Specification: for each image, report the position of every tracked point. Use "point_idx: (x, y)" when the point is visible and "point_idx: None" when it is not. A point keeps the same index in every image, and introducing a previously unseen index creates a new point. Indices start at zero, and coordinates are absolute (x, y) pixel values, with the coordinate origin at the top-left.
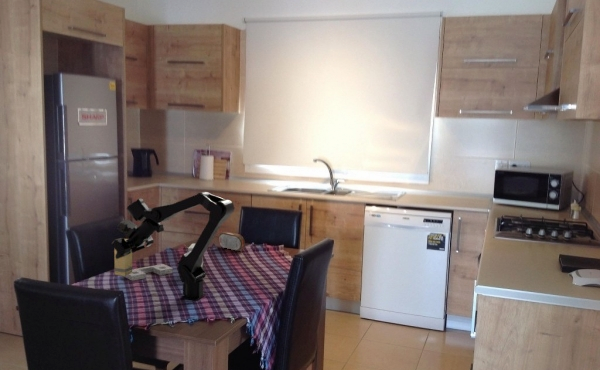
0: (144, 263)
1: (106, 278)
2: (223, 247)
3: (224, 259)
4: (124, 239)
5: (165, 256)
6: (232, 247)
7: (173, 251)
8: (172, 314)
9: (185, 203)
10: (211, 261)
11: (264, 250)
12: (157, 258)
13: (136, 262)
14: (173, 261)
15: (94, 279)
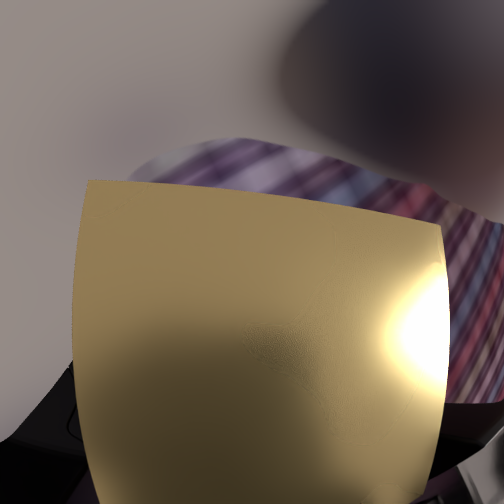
0: (437, 223)
1: (250, 182)
2: None
3: (496, 393)
4: (402, 373)
5: (482, 244)
6: None
7: (499, 239)
8: None
9: None
10: (488, 383)
11: None
12: (470, 233)
13: (431, 193)
14: (473, 295)
15: (216, 144)
